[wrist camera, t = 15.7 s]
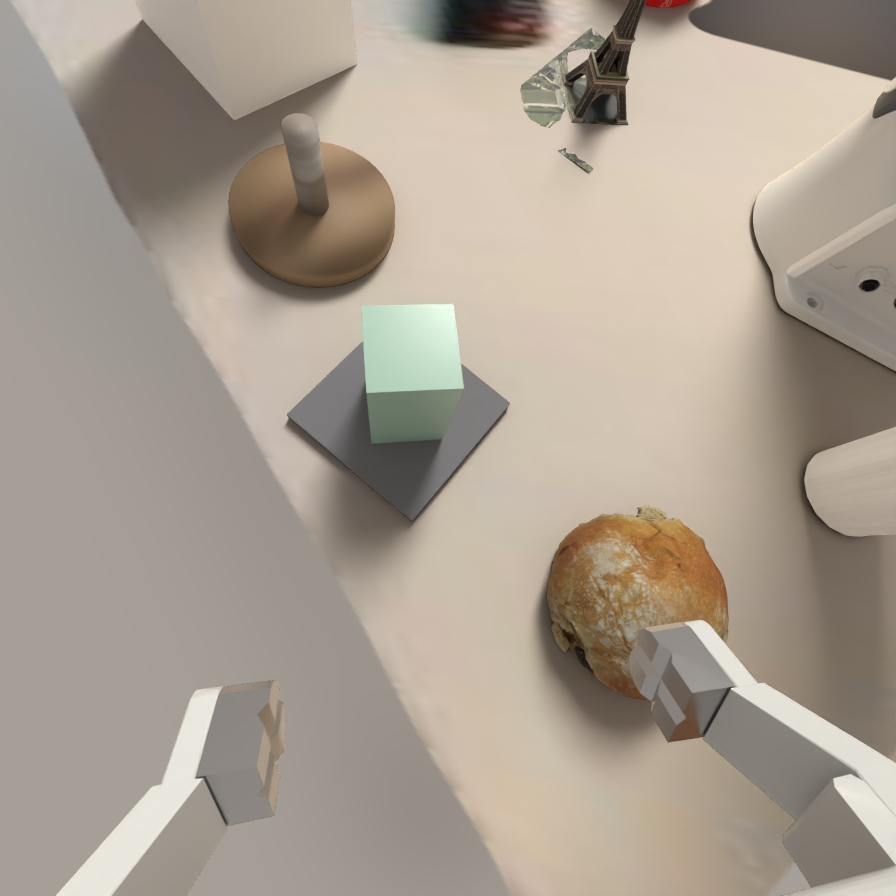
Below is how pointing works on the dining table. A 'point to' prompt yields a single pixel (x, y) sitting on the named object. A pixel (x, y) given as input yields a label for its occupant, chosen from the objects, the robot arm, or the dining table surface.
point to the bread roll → (630, 589)
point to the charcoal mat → (397, 463)
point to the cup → (856, 485)
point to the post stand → (312, 209)
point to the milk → (255, 45)
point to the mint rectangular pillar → (410, 370)
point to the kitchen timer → (665, 3)
